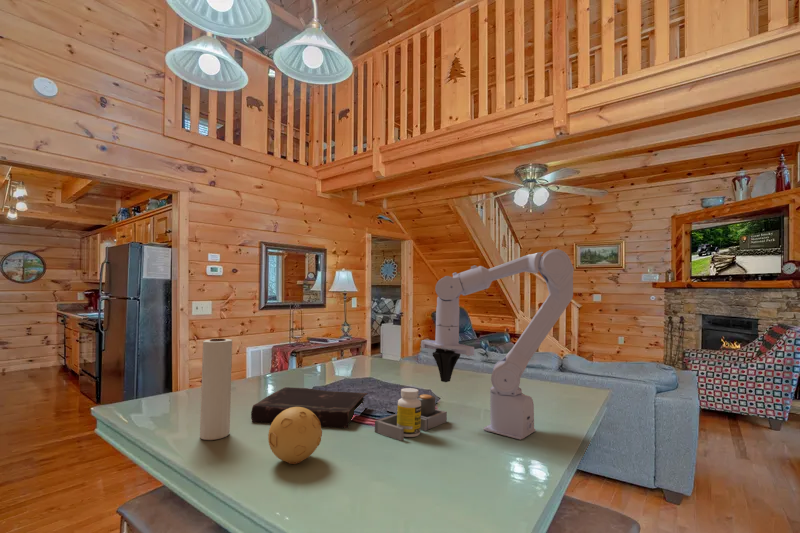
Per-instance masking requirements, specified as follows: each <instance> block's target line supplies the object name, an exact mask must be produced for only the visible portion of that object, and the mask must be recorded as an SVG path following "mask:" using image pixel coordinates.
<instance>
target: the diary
mask: <svg viewBox="0 0 800 533" xmlns="http://www.w3.org/2000/svg"><path fill="white" fill-rule="evenodd" d="M367 395H368V393H367V392H352V391H351V392H350V391H349V392H348V391H333V390H330V391H329V390H321V389H314V388H307V387H290V386H287V387H286V386H284V387H283V388H281V389H279V390H277V391H274V392H273V393H271V394H269V395H268V396H266V397H264V398H263V399H262V400H260V401H259V402H256V403H255V404H253V406H252V408H251V412H250V413H251V414H250V418H251V422H253V423H261V424H262V423H263V424H265V423H266V424H272V422H273V420H274V419H275V418H276V417H277V415H278V414H280V413H281V412H282V411H284V410H286V409H288V408H291V407H303V408H306V409H309V410H310V411H312V412H313V413H314V414H315V415H316V416H317V418H318V419H319V421H320V424H321V426H322V427H321V428H323V427H324V428H336V429H349V426H350V427H351V425H350V423H351V422H352V421H351V419H352V417H353V415H354V410H355V409H356V408H357V407H358V406H359V405H360V404H361V403H362V402H363V401H364V400H365V399H366V398H365V397H366V396H367ZM363 403H364V402H363Z"/></svg>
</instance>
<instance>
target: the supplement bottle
mask: <svg viewBox="0 0 800 533" xmlns="http://www.w3.org/2000/svg"><path fill="white" fill-rule="evenodd" d="M400 390H401V391H400V396H401V398H399V399H398V400H397V408H396V409H397V426H398V427H401V428H404V438H414V437H418V436H419V435H421V430H420V427H421V401H420V400H419V399H417V397H418V396H419V389H417V388H413V387H405V388H404V387H403V388H401V389H400Z"/></svg>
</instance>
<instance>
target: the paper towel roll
mask: <svg viewBox="0 0 800 533" xmlns="http://www.w3.org/2000/svg"><path fill="white" fill-rule="evenodd" d="M232 359H233V339H229V338H210V339H206V340H203V341H202V361H201V362H202V363H201V364H202V365H201V387H200V388H201V392H200V417H199V418H200V420H199V422H200V424H199V438H200V439H202V440H204V441H213V440H214V441H215V440H220V439H223V438H226V437H227V436H229V435H230V431H231V430H230V429H231V398H232V392H231V391H232V368H233V367H232V362H233V360H232Z"/></svg>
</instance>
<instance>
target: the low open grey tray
mask: <svg viewBox="0 0 800 533" xmlns="http://www.w3.org/2000/svg"><path fill="white" fill-rule="evenodd" d="M417 399H419V400H420V401H421V427H420V431H423V432H426V431H429V430H430V429H433V428H436V427H438V426H440V425H443V424H445V423H447V422H448V417H447V416H448V415H447V413H448V412H447V411H445V410H442V409H438V408H436V396H434V395H430V394H425V393H423V394H420V395H418V397H417ZM374 433H377V434H379V435H382V436H386V437H388V438H391V439H394V440H398V441H400V442H401V441H404V438H405V437H404V428H401V427H398V426H397V414H394V413H393V414H390V415H388V416H386V417H383V418H379V419H376V420H374Z"/></svg>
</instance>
